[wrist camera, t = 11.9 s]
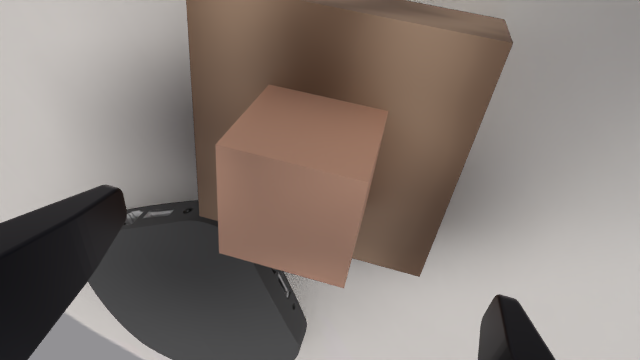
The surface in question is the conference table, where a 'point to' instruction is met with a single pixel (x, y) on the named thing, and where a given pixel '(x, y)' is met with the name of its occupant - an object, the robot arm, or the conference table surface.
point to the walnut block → (356, 95)
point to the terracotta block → (297, 182)
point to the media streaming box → (195, 291)
